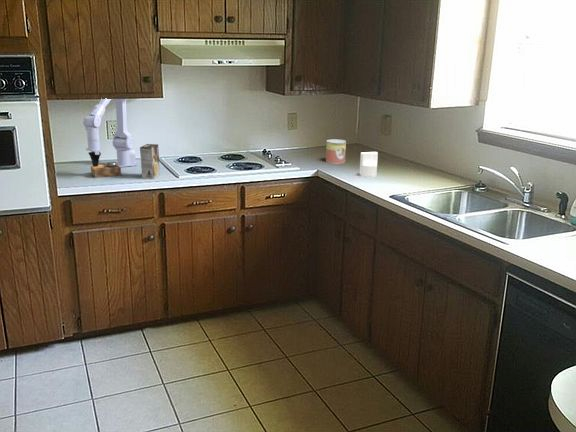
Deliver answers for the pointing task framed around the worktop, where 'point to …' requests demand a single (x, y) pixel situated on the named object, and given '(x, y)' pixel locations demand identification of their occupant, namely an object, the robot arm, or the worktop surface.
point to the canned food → (335, 151)
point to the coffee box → (150, 161)
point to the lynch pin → (112, 164)
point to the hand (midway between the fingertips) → (95, 166)
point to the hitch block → (106, 171)
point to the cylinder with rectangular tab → (368, 164)
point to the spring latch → (98, 166)
